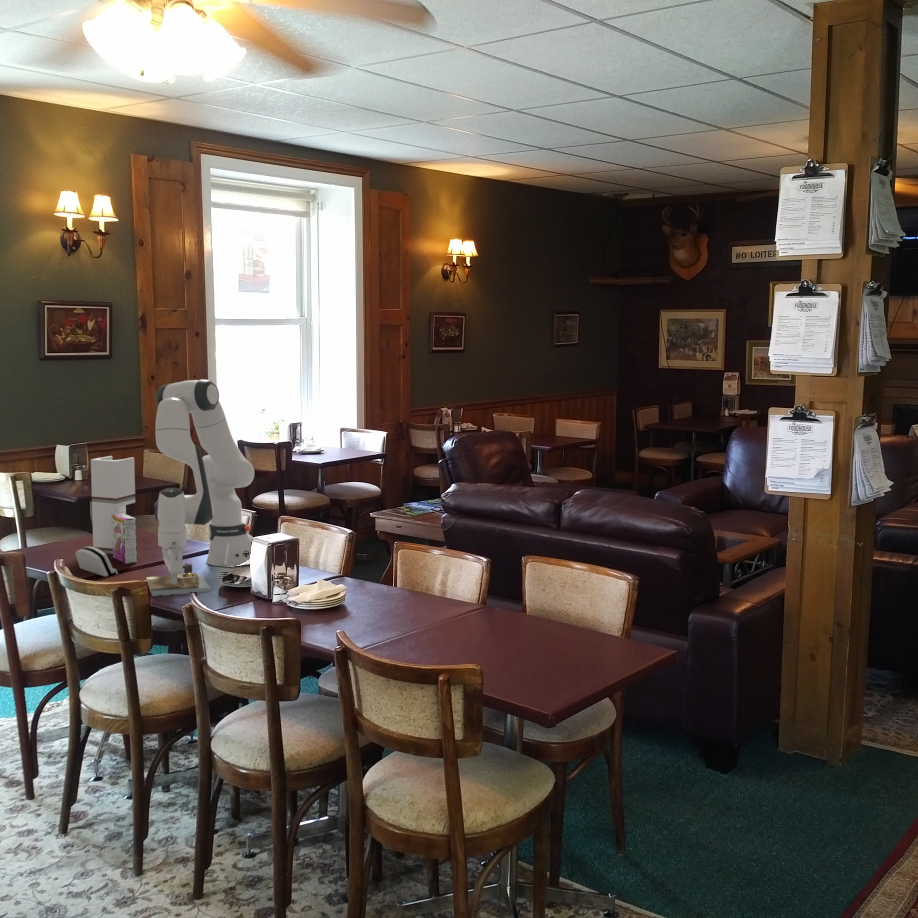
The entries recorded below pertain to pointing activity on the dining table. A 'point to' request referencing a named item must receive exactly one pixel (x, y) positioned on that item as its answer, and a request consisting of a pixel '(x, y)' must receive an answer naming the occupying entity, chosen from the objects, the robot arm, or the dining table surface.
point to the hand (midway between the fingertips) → (173, 581)
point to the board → (182, 589)
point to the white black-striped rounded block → (94, 561)
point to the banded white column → (110, 496)
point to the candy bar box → (124, 538)
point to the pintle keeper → (187, 569)
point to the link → (166, 583)
